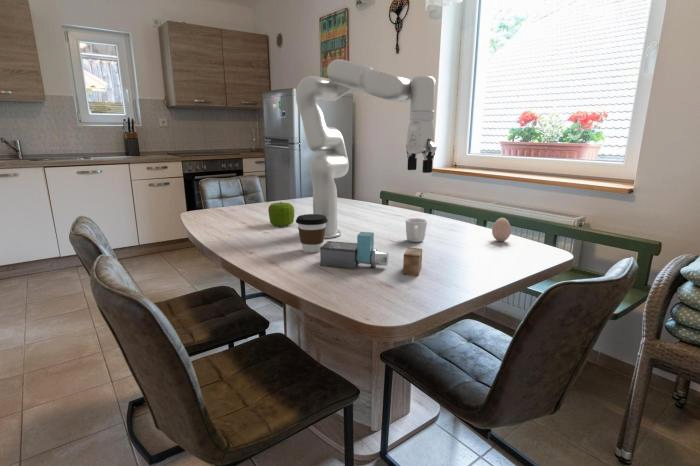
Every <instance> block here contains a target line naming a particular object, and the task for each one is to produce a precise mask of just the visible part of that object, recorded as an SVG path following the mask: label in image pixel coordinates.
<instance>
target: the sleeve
mask: <svg viewBox="0 0 700 466" xmlns="http://www.w3.org/2000/svg"><path fill="white" fill-rule="evenodd" d="M356 251H357V242H346V241H345V242H343V241H332V240H327V242H325V243H323V245H322V246H321V247H320V252H319V253H320V256H319V257H320V259H319V260H320V262H319V264H320V267H327V268H338V269H348V270H356V269H357V268H358V266H359V265H360V264H361V263H356Z"/></svg>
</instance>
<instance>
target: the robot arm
mask: <svg viewBox="0 0 700 466" xmlns="http://www.w3.org/2000/svg"><path fill="white" fill-rule="evenodd" d="M326 75H327V77H328V78H327V77H323V76H322V77H321V76H317V75H309V76H305V77H303V78H302V79H301V80H300V81H299V83H298V84H297V87H296V91H295V101H296V106H297V109H298V111H299V114H300V118H301V122H302V125H303V130H304V134H305V138H306V143H307V145H308V148H309V149H310V150H311V151H312V152H316V153H320V152H321V153H323V152H324V153H325V154H319V155H317V156H315V157H314V158H312V160H311V161H310V164H309V173H310V178H311V184H312V203H313V204H312V208H313V209H312V214H320V215H324V216H326V218H327V219H328V222H327V223H326V225H325V226H326V228H325V235H324V239H331V238H332V239H333V238H337V237H340V236H342V231H341V230H340V229H338V190H337V185H336V182H335V179H338V178H339V179H340V178H343V177H344V176H346V175H347V174H348V172H349V169H350V167H349V166H350V163H349V158H348V153H347V149H346V144H345V140H344V137H343V134H342V133H341V131H340V130H339V129H338V128H336V127H333V126H327V123H326V121H325V120H326V119H325V115H324V113H323V112H324V111H322V108H321V107H320V105H319V104H318V102H324V103H333V102H335V101H337V100H339V99H340V98H341V97H343V96H344V95H347V94H348V93H349V92H351V91H352V90H355V91H358V92H361V93H363V94H367V95H370V96H374V97H377V98H380V99H383V100H387V101H391V102H398V103H409V104H410V105H409V106H410V107H409V124H408V128H407V135H406V136H407V137H406V145H405V150H406V154H407V155H406V157H407V167H406V168H407V170H408V171H416V170H417V162H418V158H417V155H418V154H419V155H420V154H422V157H423V160H422V169H421V170H422V173H423V174H427V173H429V174H431V173H432V172H433V160H434V157H435V155H436V151H437V145H436V144H435V141H434V140H435V137H434V136H435V131H434V118H435V117H434V116H435V115H434V114H435V96H436V79H435V77H433V76H431V75H430V76H429V75H420V76H415V77H413V78H406V77H403V76H398V75H394V74H389V73H386V72H382V71H378V70H375V69H373V67H371V66H369V65H365V64H361V63H357V62H353V61H349V60H345V59H342V58H341V59H340V58H339V59H334V60H332V61H331V62H330V63H329V64H328V66H327V69H326Z"/></svg>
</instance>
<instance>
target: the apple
mask: <svg viewBox="0 0 700 466" xmlns="http://www.w3.org/2000/svg"><path fill="white" fill-rule="evenodd" d="M267 212H268V216H269V217H268V218H269V223H270V224H271V225H272V226H274V227H276V226H278V227H277V228H284V226H286V227H289V226H290V225H292V224H294V221H295V208H294V206H293V205H292V204H291V203H289V202H282V201H279V202H274V203H270V205H269V206H268V211H267ZM288 225H289V226H288Z"/></svg>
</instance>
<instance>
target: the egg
mask: <svg viewBox="0 0 700 466" xmlns="http://www.w3.org/2000/svg"><path fill="white" fill-rule="evenodd" d="M511 227H512V226H511V224H510V222H509V220H508V219H506V218H505V217H499V218H497V220H496V221H495V222H494V223H493V225H492V229H491V234H492V237H493V239H494V240H496V241H497V242H499V243H500V242H501V243H502V242H505V241H507V240H508V239H509V237H510V236H511V232H512V229H511Z"/></svg>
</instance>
